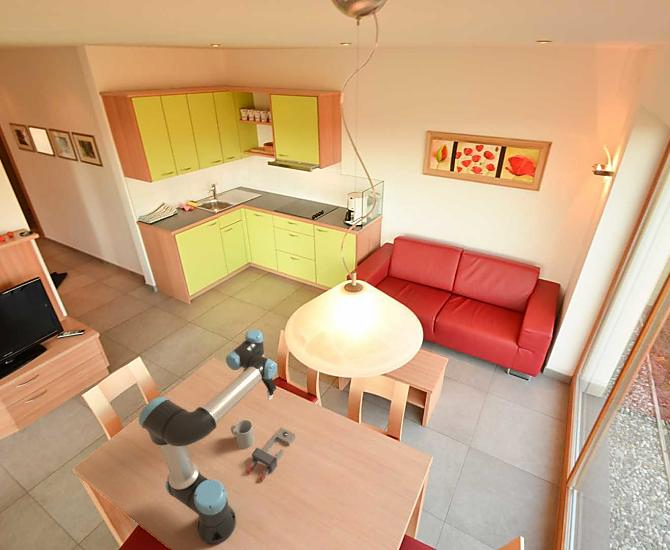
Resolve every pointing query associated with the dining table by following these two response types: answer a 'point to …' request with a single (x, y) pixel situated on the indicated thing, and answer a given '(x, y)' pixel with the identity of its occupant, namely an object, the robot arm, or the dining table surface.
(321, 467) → the dining table surface
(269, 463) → the grey rectangular block
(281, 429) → the base
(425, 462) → the dining table surface
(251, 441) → the mug
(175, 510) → the dining table surface
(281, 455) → the red-tipped stick
